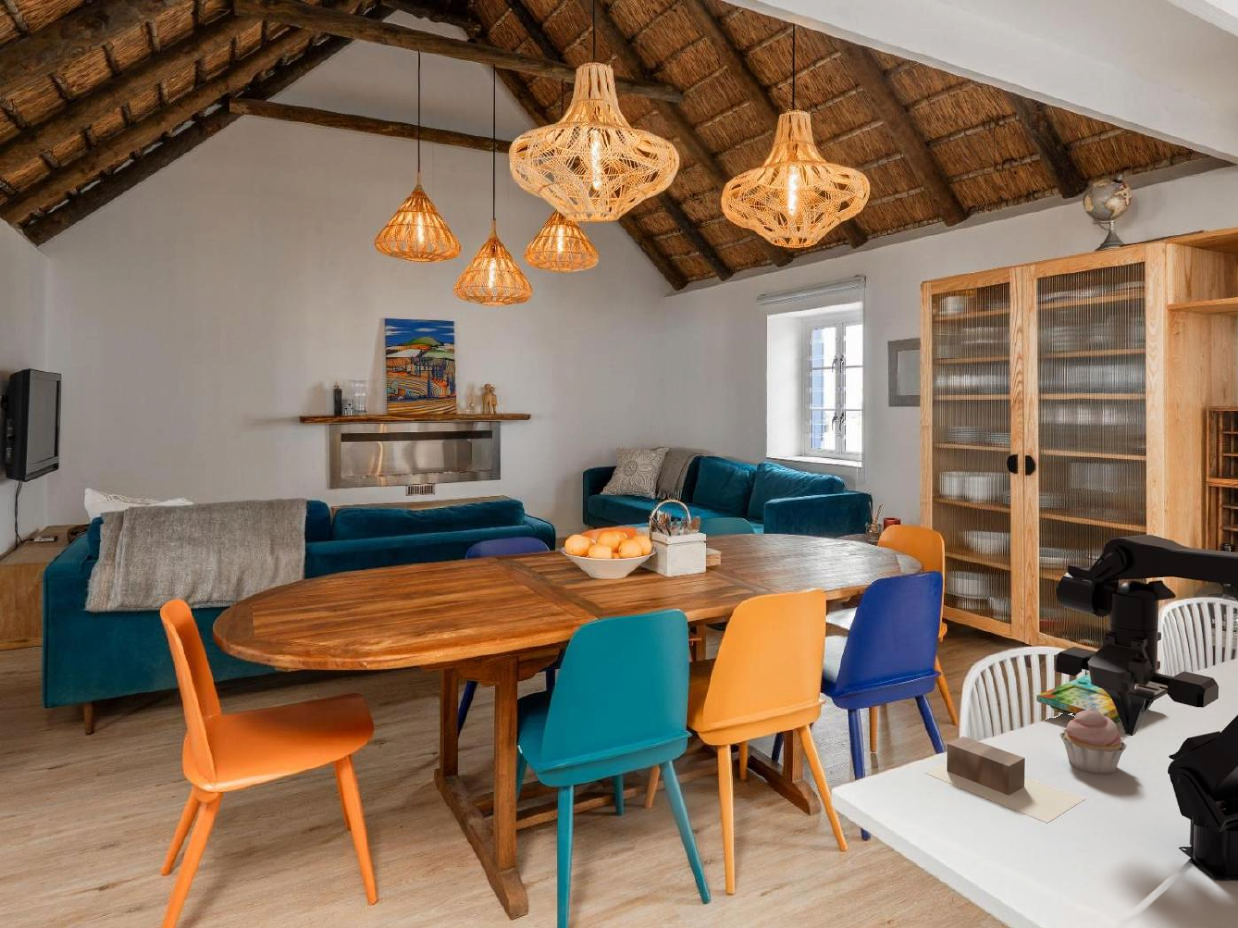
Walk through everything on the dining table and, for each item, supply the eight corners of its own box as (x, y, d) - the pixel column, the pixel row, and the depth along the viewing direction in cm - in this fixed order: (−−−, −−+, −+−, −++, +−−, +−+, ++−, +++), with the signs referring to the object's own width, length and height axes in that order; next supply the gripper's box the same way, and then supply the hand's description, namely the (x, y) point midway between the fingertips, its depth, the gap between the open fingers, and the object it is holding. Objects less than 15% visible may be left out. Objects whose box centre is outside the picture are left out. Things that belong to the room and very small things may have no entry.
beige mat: (1085, 802, 116) (1085, 798, 116) (1047, 827, 110) (1047, 822, 110) (963, 757, 131) (964, 753, 131) (924, 776, 125) (924, 772, 125)
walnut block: (1024, 757, 120) (963, 736, 128) (1009, 766, 117) (947, 743, 125) (1024, 786, 120) (962, 763, 128) (1008, 795, 117) (946, 770, 125)
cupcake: (1125, 762, 128) (1126, 702, 128) (1127, 786, 120) (1129, 722, 120) (1059, 750, 133) (1060, 692, 132) (1057, 773, 125) (1059, 711, 124)
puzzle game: (1156, 686, 150) (1102, 709, 139) (1155, 710, 150) (1101, 735, 139) (1091, 669, 160) (1036, 690, 149) (1091, 692, 160) (1036, 714, 149)
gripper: (1035, 621, 113) (1034, 727, 114) (1188, 653, 98) (1184, 775, 99) (1073, 608, 119) (1071, 709, 120) (1222, 636, 104) (1218, 751, 105)
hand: (1130, 734), depth 111 cm, fingers closed
